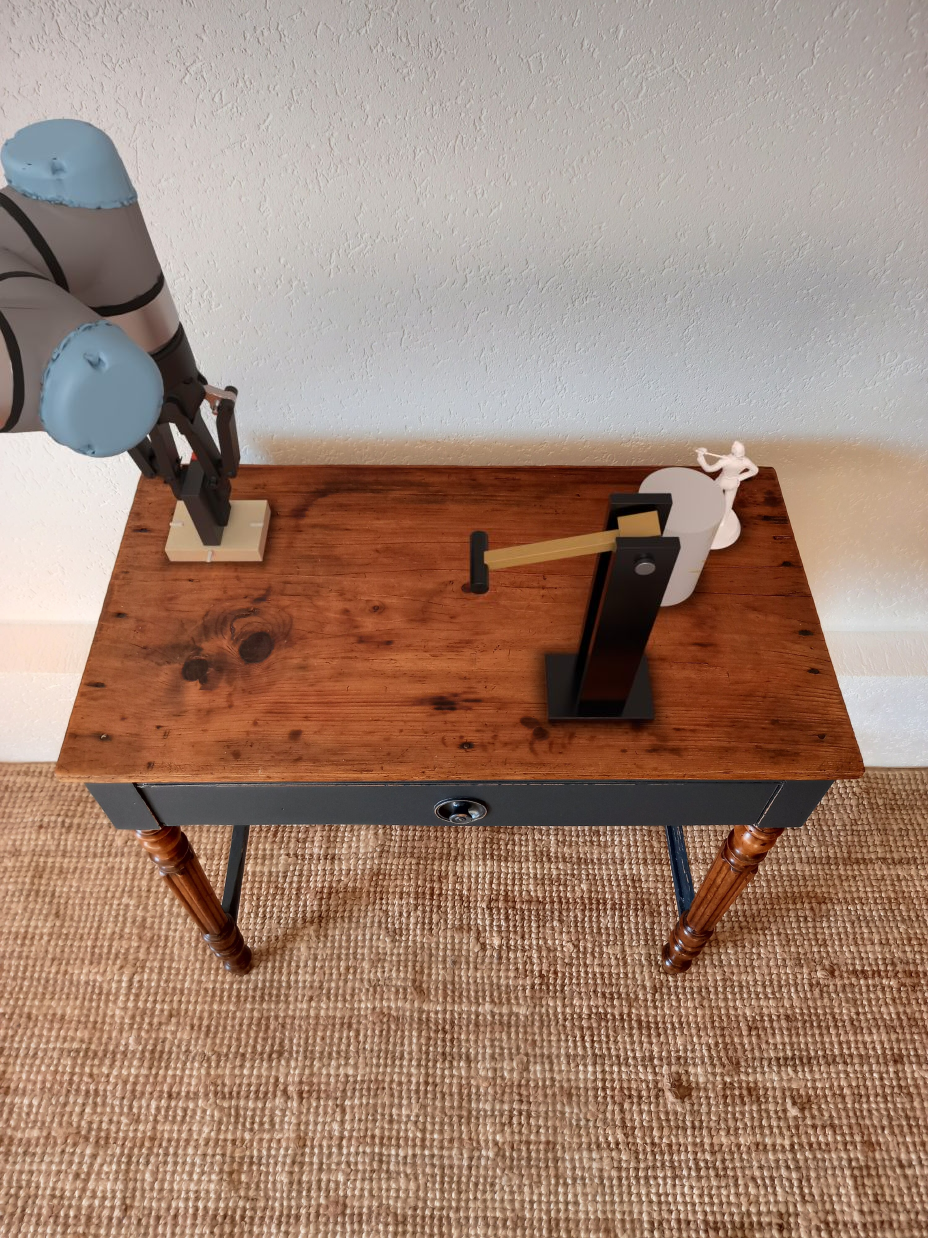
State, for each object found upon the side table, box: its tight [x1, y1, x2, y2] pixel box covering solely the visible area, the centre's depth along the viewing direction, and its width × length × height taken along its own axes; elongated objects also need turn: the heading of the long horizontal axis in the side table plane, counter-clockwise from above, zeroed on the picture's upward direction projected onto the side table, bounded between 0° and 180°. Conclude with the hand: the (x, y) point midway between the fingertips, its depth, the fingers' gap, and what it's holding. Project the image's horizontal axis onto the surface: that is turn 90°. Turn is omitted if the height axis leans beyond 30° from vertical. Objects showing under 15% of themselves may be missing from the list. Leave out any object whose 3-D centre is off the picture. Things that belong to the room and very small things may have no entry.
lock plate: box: [164, 499, 272, 563], centre depth 88 cm, size 10×10×2 cm
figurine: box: [694, 440, 759, 550], centre depth 84 cm, size 7×7×12 cm
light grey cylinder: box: [638, 466, 726, 607], centre depth 80 cm, size 8×8×12 cm
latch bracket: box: [543, 492, 681, 724], centre depth 67 cm, size 10×7×26 cm
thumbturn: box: [181, 451, 224, 546], centre depth 84 cm, size 6×2×8 cm, turn 179°
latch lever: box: [469, 511, 661, 595], centre depth 59 cm, size 14×5×2 cm, turn 90°
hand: (213, 516), depth 86 cm, fingers closed on thumbturn, 2 cm apart
